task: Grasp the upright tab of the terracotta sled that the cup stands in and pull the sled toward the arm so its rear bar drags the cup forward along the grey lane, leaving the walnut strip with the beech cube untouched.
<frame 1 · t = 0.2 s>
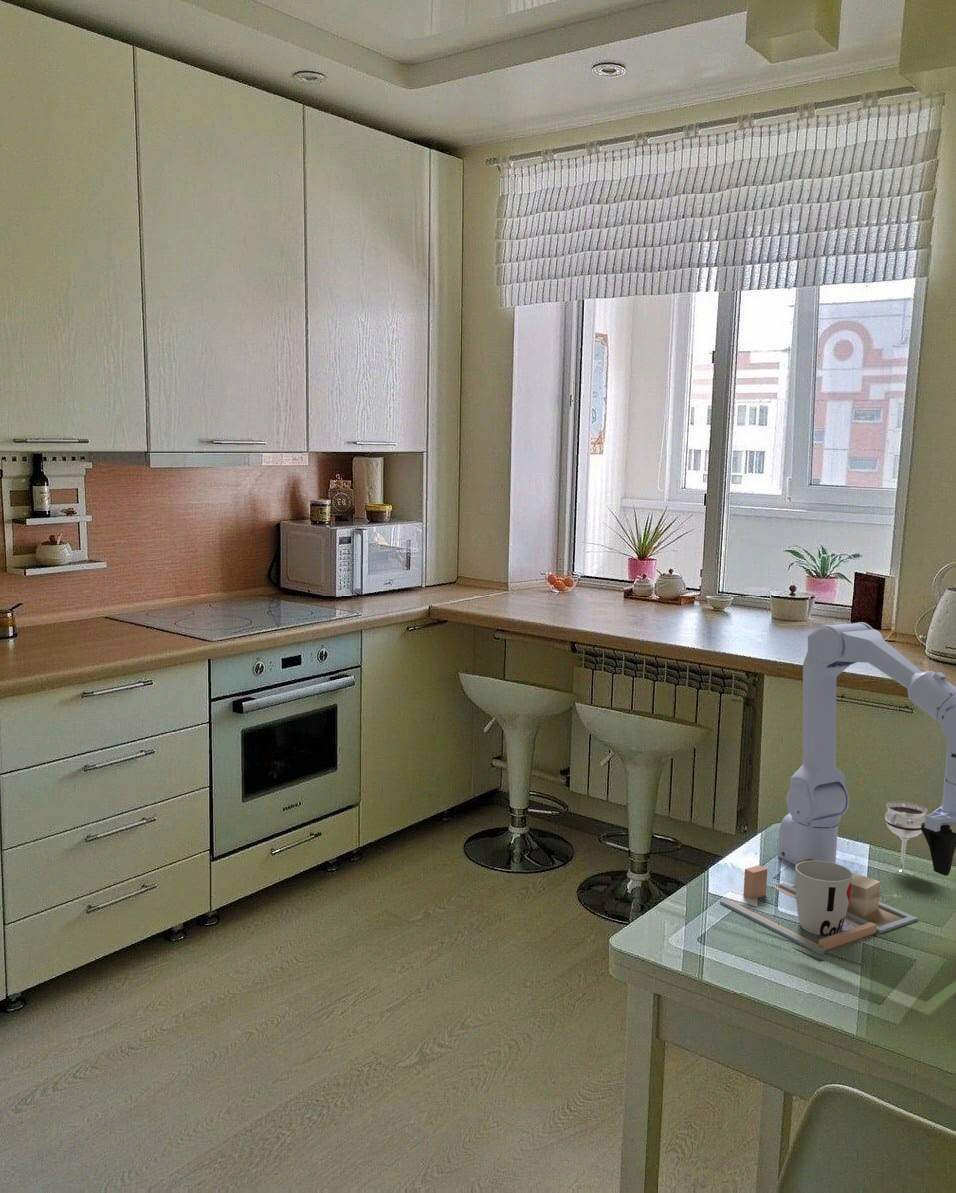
cup sled: (798, 906, 158), point 3 cm above the table, slide at 0.0 cm
lane frame: (816, 919, 160), on the table
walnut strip: (845, 893, 164), point 3 cm above the table, slide at 0.0 cm, touching beech cube
beech cube: (857, 908, 162), point 1 cm above the table, touching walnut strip
wineglass: (901, 875, 179), on the table
cup: (819, 935, 155), resting in cup sled
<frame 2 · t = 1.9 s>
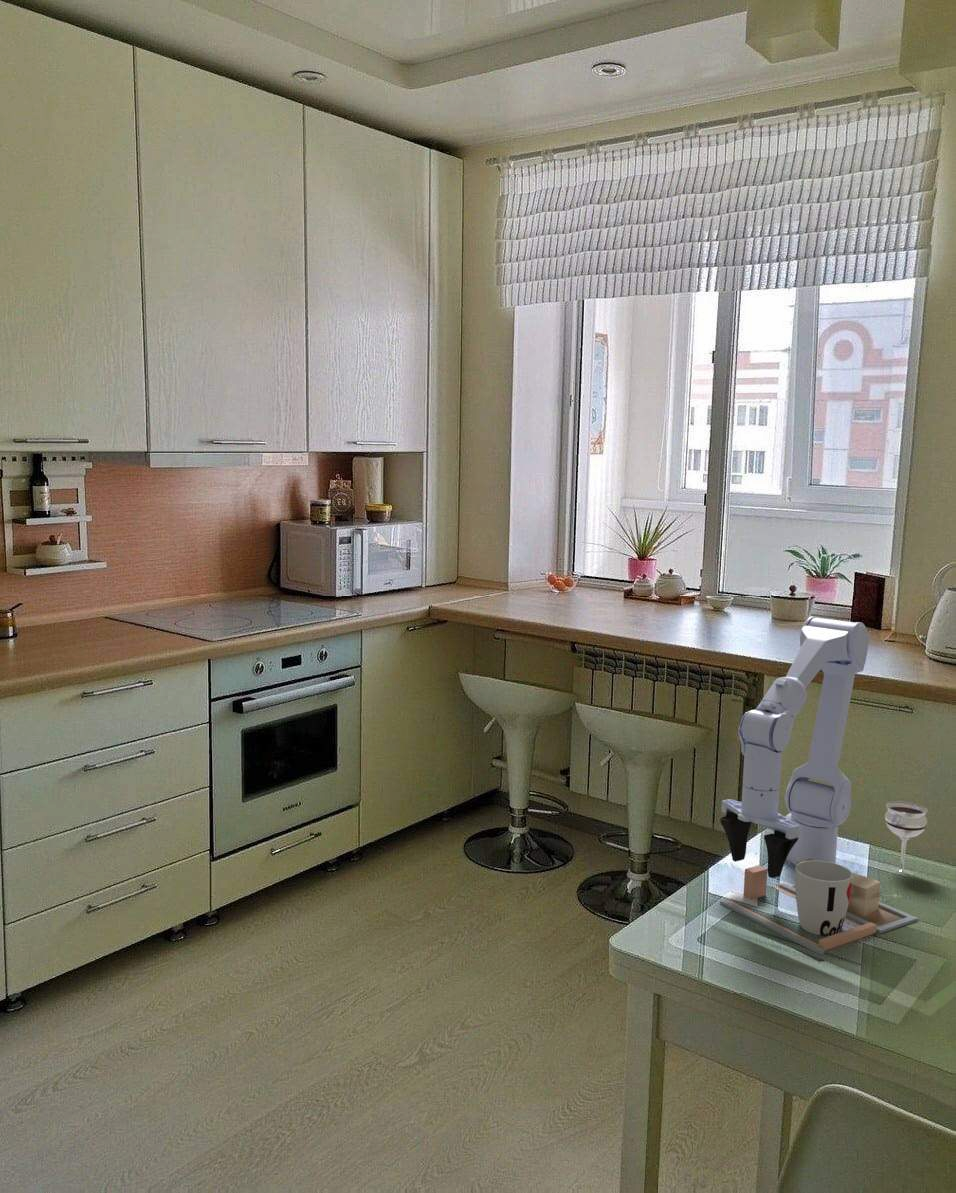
hand: (756, 868, 165), 6 cm above the table, tool pointing down, fingers open, 7 cm apart
nothing on the table moved.
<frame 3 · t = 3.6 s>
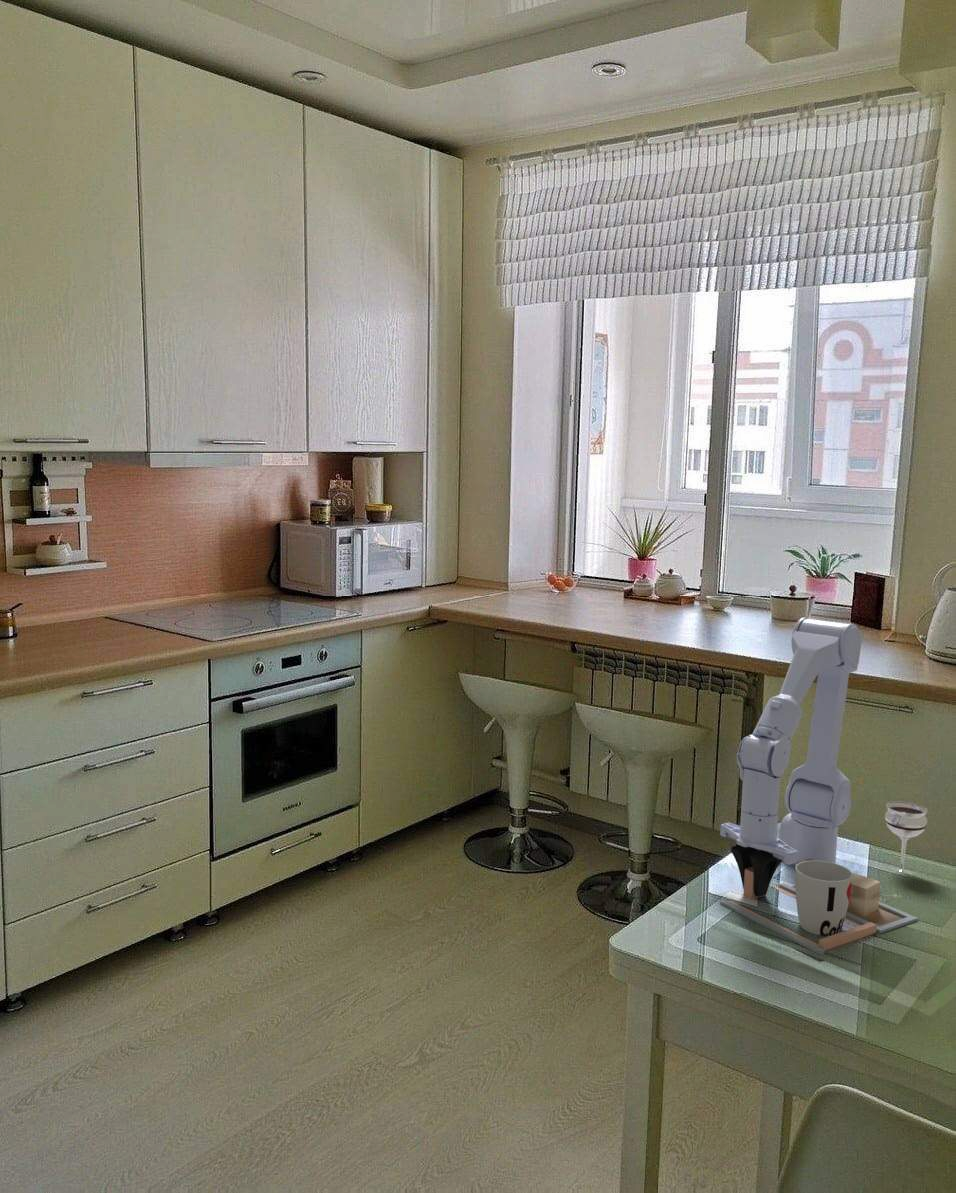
hand: (754, 892, 166), 2 cm above the table, tool pointing down, fingers closed on cup sled, 2 cm apart
cup sled: (798, 906, 158), point 3 cm above the table, slide at 0.0 cm, touching gripper
everything else where it was.
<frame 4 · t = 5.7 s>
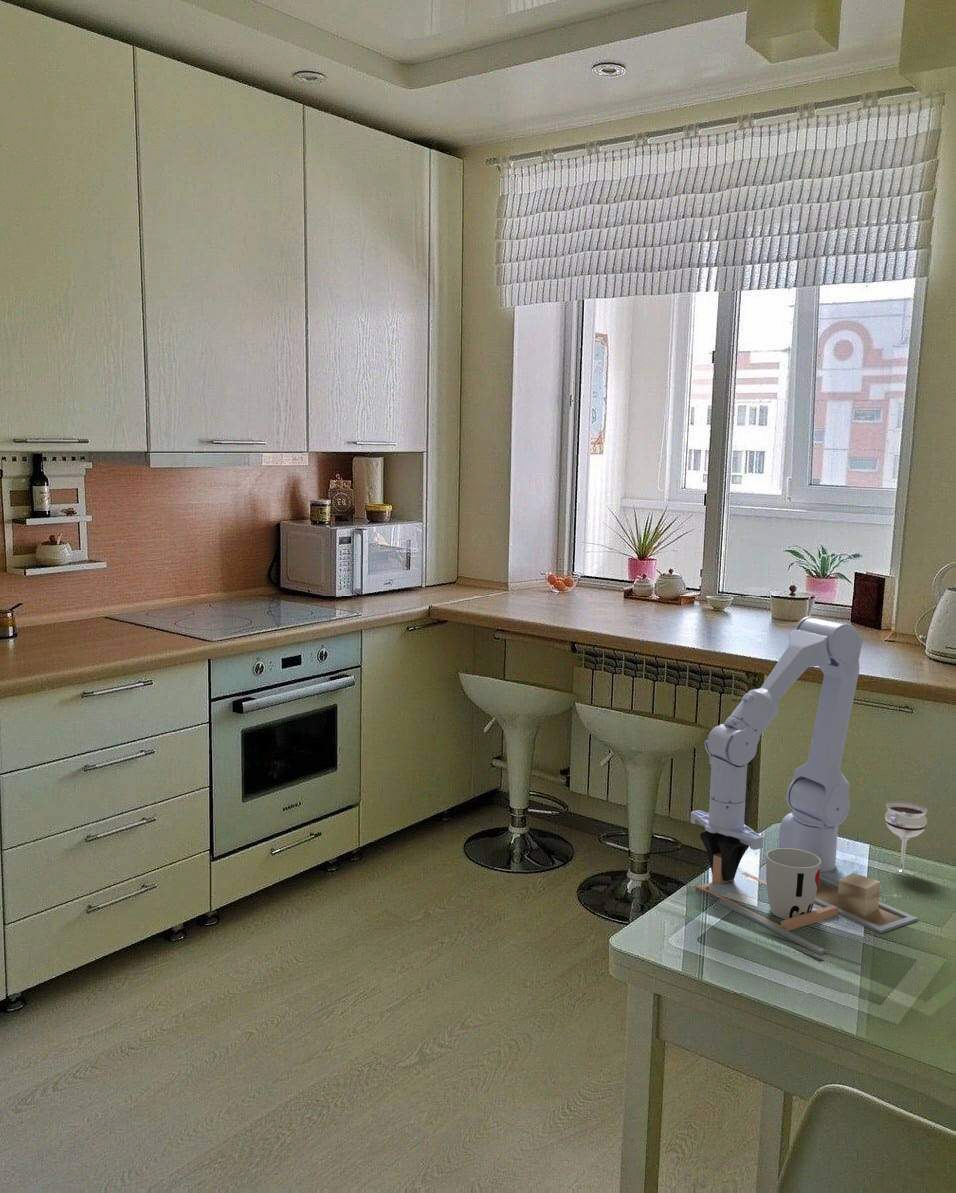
hand: (723, 877, 172), 2 cm above the table, tool pointing down, fingers closed on cup sled, 2 cm apart
cup sled: (763, 889, 164), point 3 cm above the table, slide at 7.0 cm, touching cup, gripper
cup: (789, 920, 160), resting in cup sled
everything else where it was.
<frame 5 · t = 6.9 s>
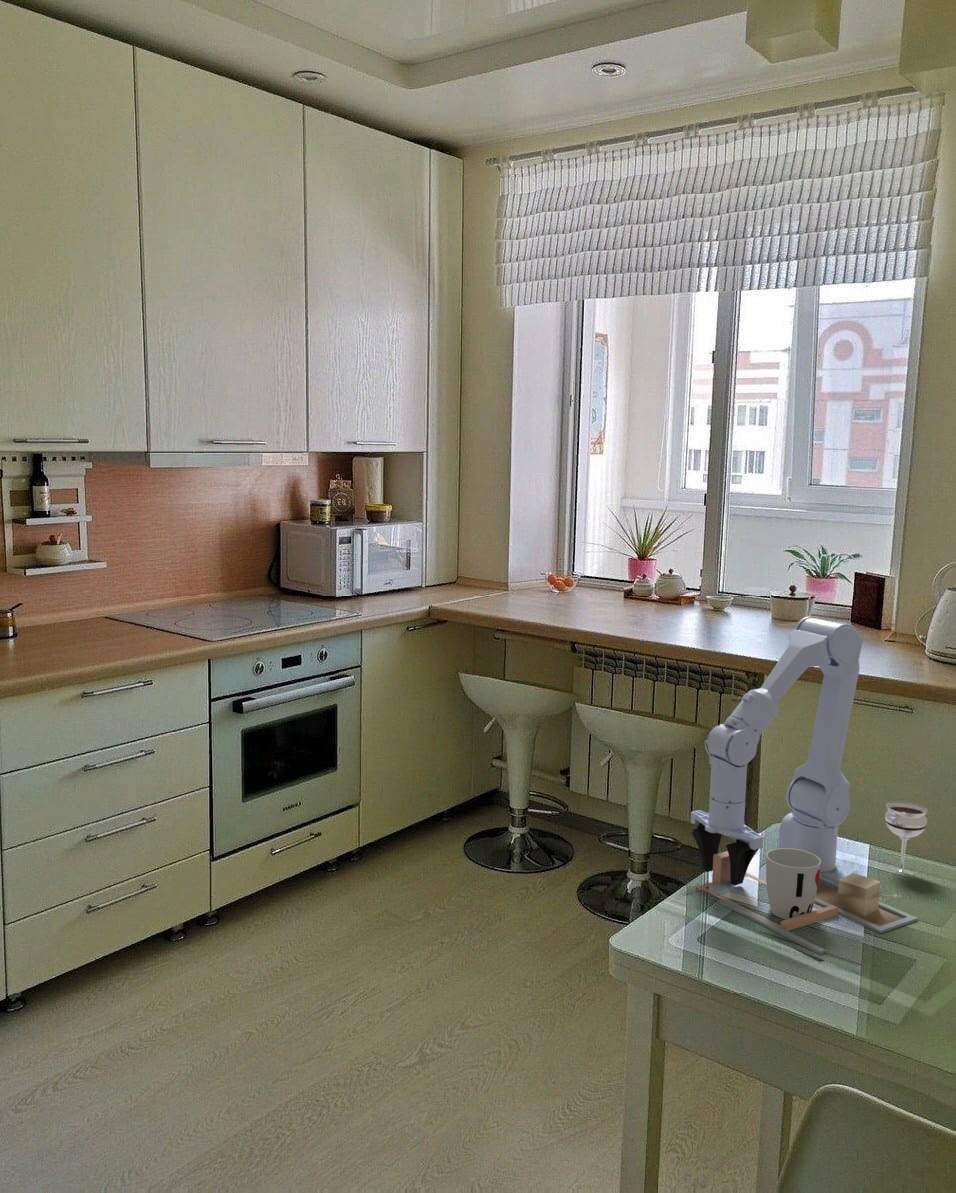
hand: (723, 877, 172), 2 cm above the table, tool pointing down, fingers open, 6 cm apart
cup sled: (763, 889, 164), point 3 cm above the table, slide at 7.0 cm
cup: (789, 920, 160), resting in cup sled
everything else where it was.
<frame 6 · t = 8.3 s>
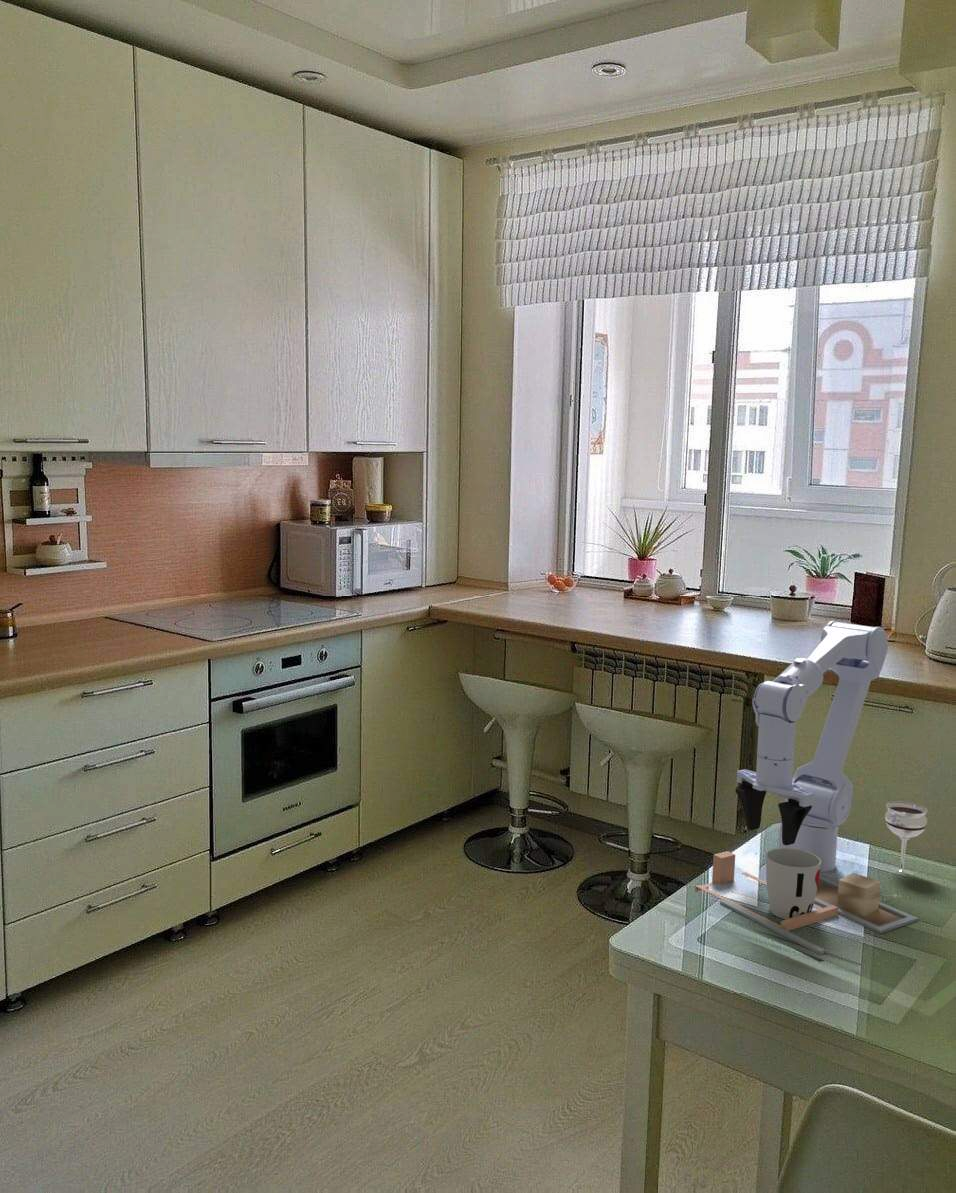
hand: (770, 836, 169), 10 cm above the table, tool pointing down, fingers open, 7 cm apart
nothing on the table moved.
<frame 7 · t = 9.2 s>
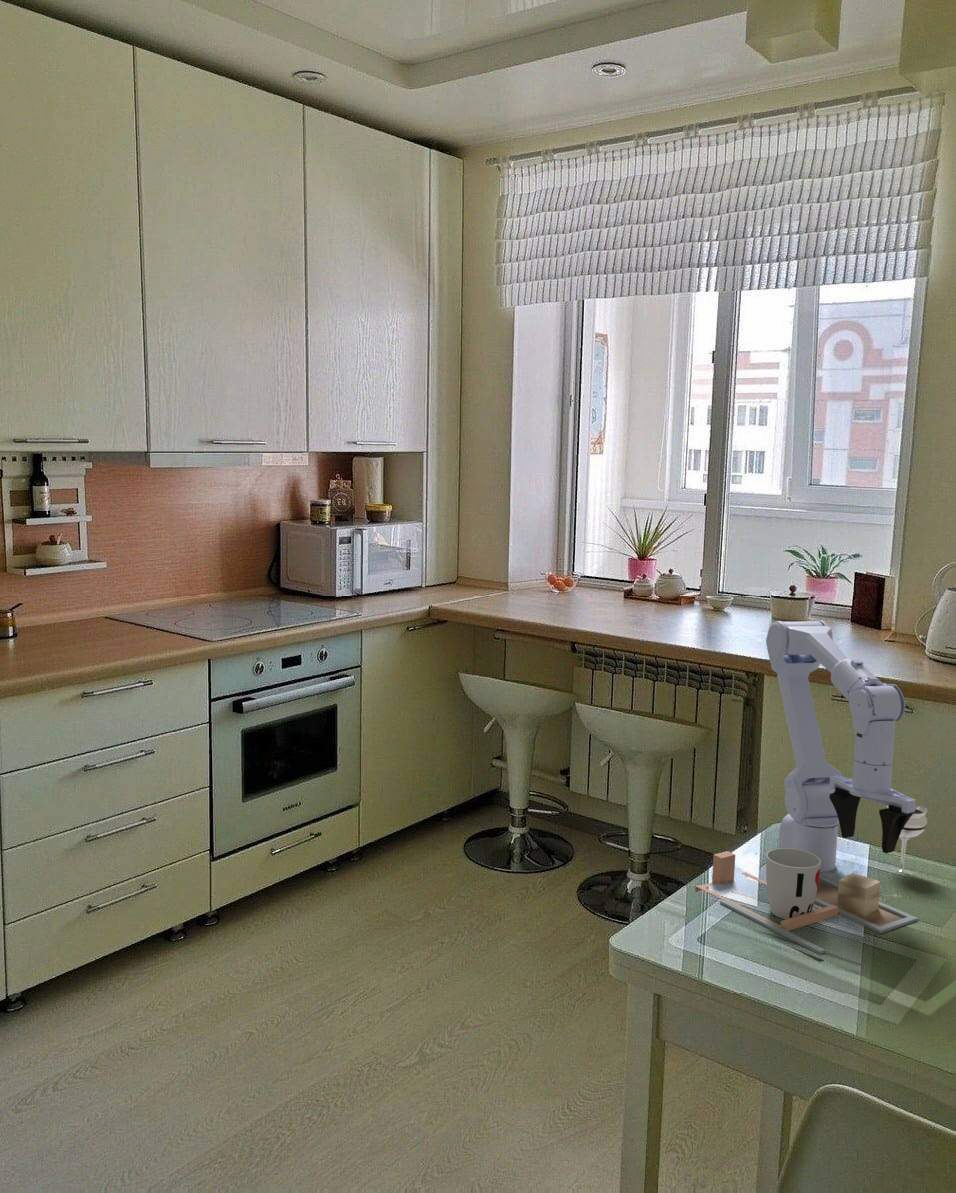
hand: (867, 844, 164), 10 cm above the table, tool pointing down, fingers open, 7 cm apart
nothing on the table moved.
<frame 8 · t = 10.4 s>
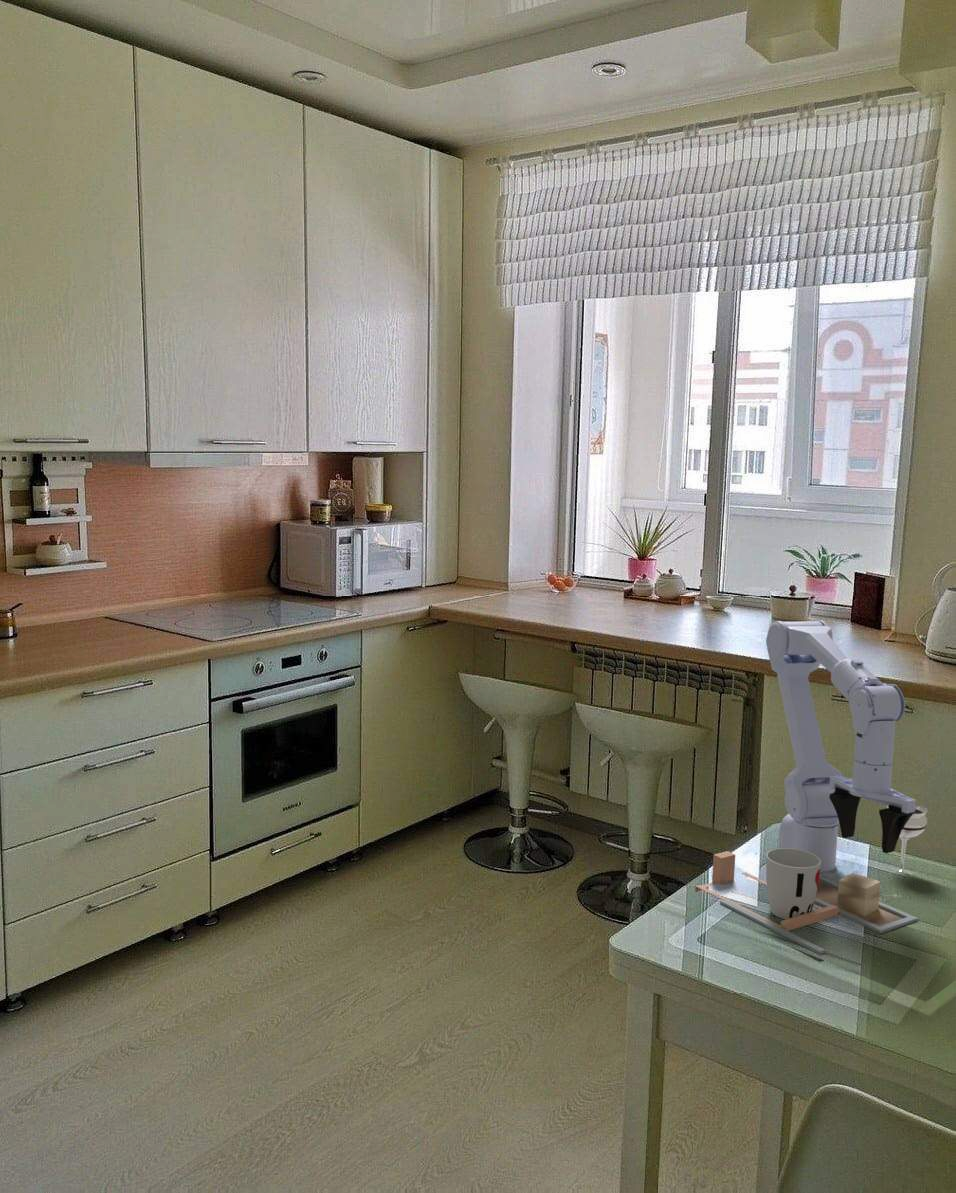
hand: (867, 844, 164), 10 cm above the table, tool pointing down, fingers open, 7 cm apart
nothing on the table moved.
at the end: cup sled slide at 7.0 cm; cup inside the target area (1.5 cm from its centre), resting in cup sled; cup tilted 0° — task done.
